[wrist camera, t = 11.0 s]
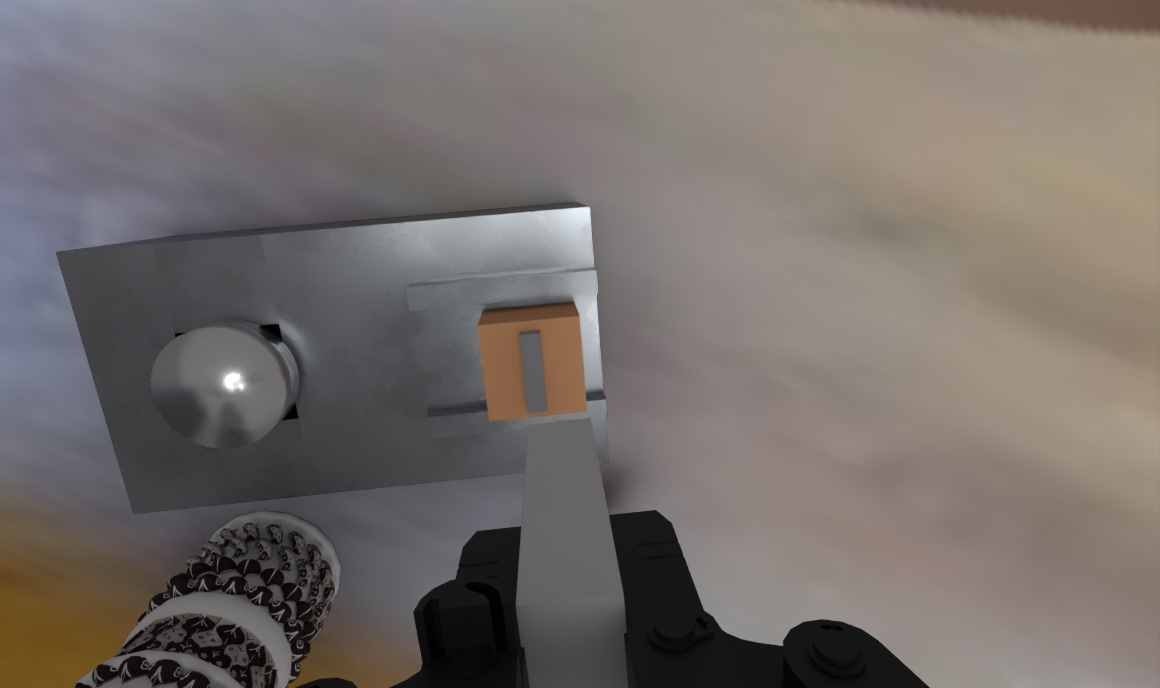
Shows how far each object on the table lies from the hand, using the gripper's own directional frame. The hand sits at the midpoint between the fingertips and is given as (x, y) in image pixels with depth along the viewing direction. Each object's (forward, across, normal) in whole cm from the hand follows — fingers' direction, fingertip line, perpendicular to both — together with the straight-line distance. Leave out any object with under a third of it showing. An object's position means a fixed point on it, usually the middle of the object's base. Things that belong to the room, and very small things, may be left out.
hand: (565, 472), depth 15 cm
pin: (+21, -14, 0) cm, 25 cm away
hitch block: (+21, -9, 0) cm, 23 cm away
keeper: (+13, -1, 0) cm, 13 cm away
